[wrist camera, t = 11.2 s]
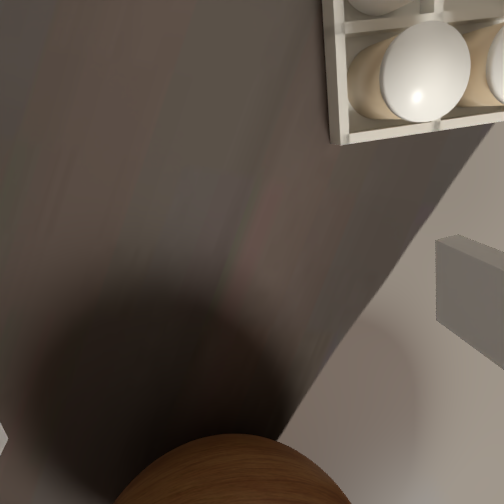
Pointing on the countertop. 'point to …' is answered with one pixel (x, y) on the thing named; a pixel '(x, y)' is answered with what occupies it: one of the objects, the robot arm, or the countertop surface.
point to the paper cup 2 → (485, 67)
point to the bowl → (232, 475)
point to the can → (378, 6)
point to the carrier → (381, 28)
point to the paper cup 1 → (411, 74)
